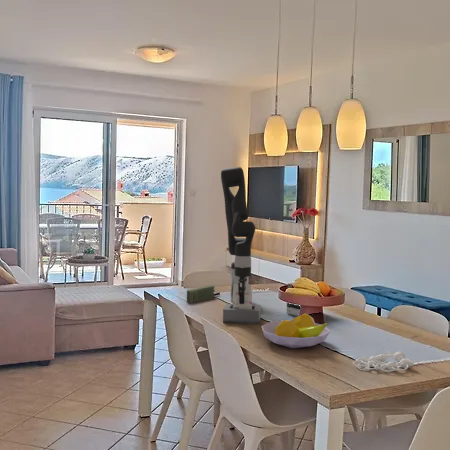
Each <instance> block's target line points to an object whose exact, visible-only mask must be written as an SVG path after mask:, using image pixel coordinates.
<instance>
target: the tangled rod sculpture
mask: <svg viewBox="0 0 450 450" xmlns="http://www.w3.org/2000/svg"><path fill="white" fill-rule="evenodd" d="M390 357H391V358H393V359H394V360H395V361H396V362H394V361H389V362H385V361H387V358H390ZM361 360H362V361H361ZM352 364H353V366H355V367H356V369H357V370H360V371H365V372H370V370H376V371H379V370H380V371H383V372H386V373H390V372H394V371H401V372H402V371H406V370H407V369H408V368H411V367H414V364H415V363H414V362H413V361H412V360H411V359H409V358H406V355H405V353H403V352H402V351H396V352H395V353H393V352H391V350H388V351H387V352H386V353H381V354H377V355H376V356H375V355H372V356H370V357H367V356H365V357H362V358H357V359H355V361H353V362H352ZM399 366H400V367H399ZM363 367H365V368H363Z"/></svg>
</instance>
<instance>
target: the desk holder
mask: <svg viewBox="0 0 450 450" xmlns="http://www.w3.org/2000/svg"><path fill="white" fill-rule="evenodd" d="M261 315H262V305H261V304H252V309H233V303H226V304H225V306H224V308H223V309H222V323H223V324H225V323H226V324H245V325H260V322H261V318H262V316H261Z"/></svg>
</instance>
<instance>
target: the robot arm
mask: <svg viewBox="0 0 450 450" xmlns="http://www.w3.org/2000/svg"><path fill="white" fill-rule="evenodd" d="M220 180H221V181H220V182H221V186H222V191H223V192H222V193H223V197H224V199H223V200H224V209H225V212H224V213H225V219H226V225H227V242H228V243H227V244H228V253H229V254H230V255H231V256H234V261H233V262H231V264H230V265H231V266H230V268H231V269H230V301H231V302H233V285H234V284H238V295H239V303H240V304H244V295H245V290H246V284H249V277H252V276H251V275H252V256H251V255H252V254H251V253H252V245H253V244H252V243H253V239H254V236H255V233H256V225H255V223H254V222H253V221H249V220H248V218H249V212H248V211H249V209H248V205H247V197H246V196H247V195H246V194H247V193H246V178H245V173H244V170H243V168H242V167H241V166H237V167H236V166H235V167H228V168H227V167H226V168H224V169H222V170H221V172H220ZM235 187H238V189H237V192H236V194H235V195H234V194H233V193H232V191H231V189H230V188H235ZM247 220H248V221H247ZM244 286H245V287H244ZM241 290H242V291H243V292H240V291H241Z"/></svg>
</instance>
